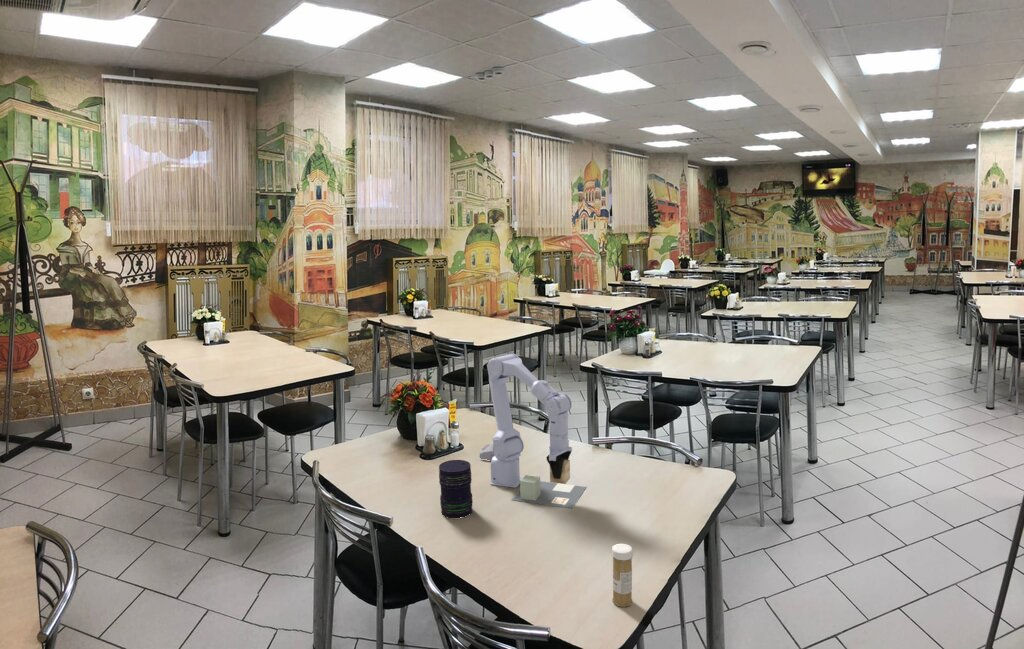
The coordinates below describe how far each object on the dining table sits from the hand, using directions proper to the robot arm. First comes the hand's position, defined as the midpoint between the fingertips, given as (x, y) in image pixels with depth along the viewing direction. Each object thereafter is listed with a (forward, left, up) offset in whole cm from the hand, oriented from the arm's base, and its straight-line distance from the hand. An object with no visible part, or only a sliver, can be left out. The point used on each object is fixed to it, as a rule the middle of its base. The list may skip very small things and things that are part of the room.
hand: (559, 474), depth 201 cm
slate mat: (-5, +4, -9) cm, 11 cm away
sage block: (-10, 0, -9) cm, 13 cm away
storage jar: (-28, -17, -9) cm, 34 cm away
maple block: (0, 0, -2) cm, 2 cm away
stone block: (-37, +31, -9) cm, 49 cm away
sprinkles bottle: (+30, -48, -9) cm, 57 cm away
